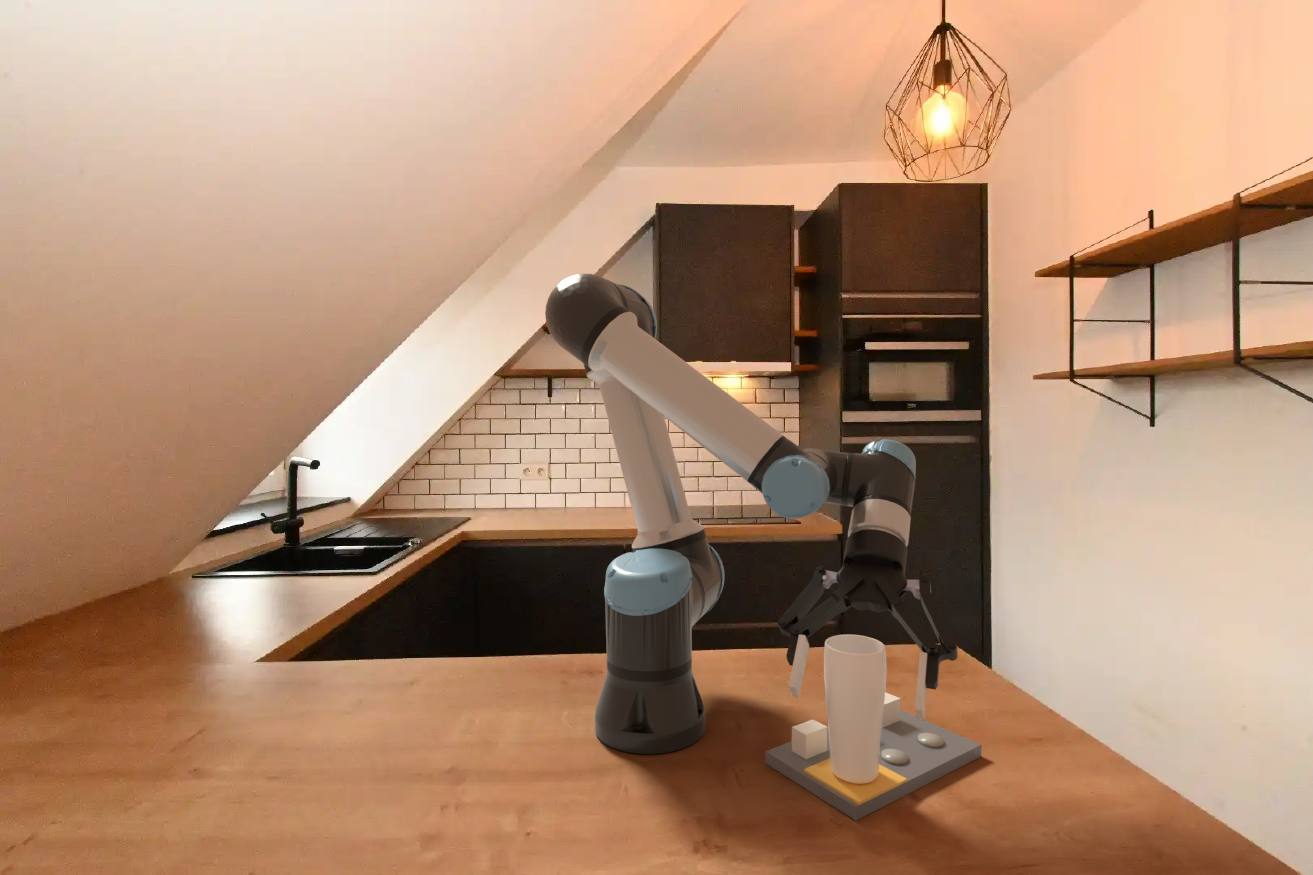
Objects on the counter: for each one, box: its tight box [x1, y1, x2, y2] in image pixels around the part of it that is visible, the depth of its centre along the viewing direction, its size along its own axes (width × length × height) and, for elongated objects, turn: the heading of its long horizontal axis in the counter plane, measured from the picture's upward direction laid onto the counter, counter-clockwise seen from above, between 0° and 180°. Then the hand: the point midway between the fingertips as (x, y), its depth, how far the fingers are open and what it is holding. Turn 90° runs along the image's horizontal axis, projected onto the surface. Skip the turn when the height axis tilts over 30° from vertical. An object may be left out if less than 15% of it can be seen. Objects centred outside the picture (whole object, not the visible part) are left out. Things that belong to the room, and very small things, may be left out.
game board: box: [764, 691, 982, 821], centre depth 84 cm, size 14×23×4 cm, turn 123°
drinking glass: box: [823, 634, 887, 784], centre depth 77 cm, size 7×7×15 cm
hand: (854, 703), depth 75 cm, fingers open, 13 cm apart
